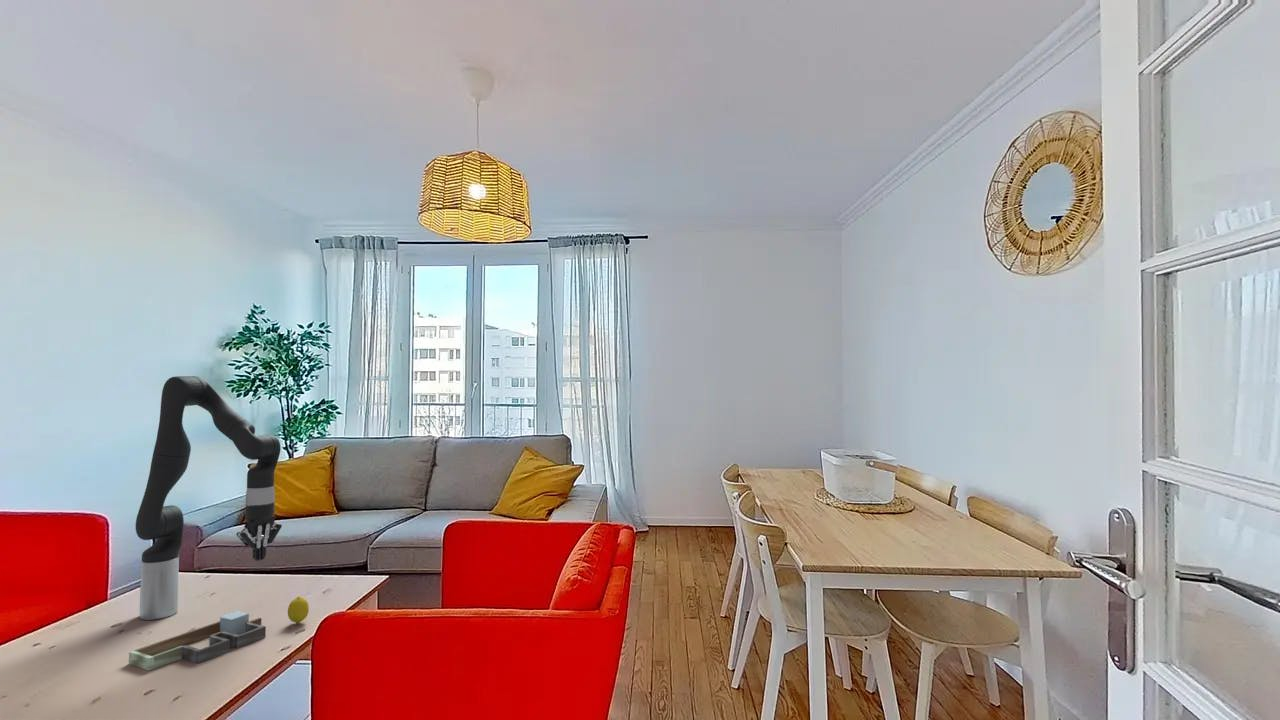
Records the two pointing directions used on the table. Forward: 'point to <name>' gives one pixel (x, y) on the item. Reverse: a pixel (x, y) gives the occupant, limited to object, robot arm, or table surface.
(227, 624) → the block
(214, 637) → the trap box
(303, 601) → the lemon
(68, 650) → the table surface
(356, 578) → the table surface
